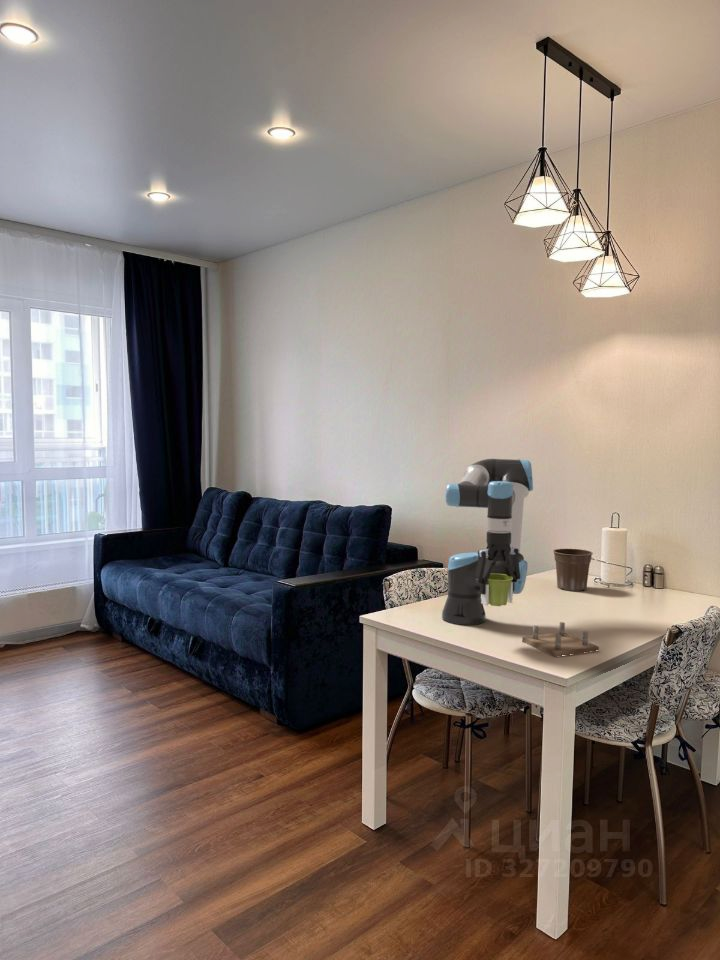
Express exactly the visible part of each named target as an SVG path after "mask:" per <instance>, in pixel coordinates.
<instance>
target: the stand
mask: <svg viewBox="0 0 720 960" xmlns="http://www.w3.org/2000/svg"><path fill="white" fill-rule="evenodd" d="M565 626H566V623H565V622H562V621H560V622H559V628H558V630H559V632H554V633H553V632H550V633H545V634H539V625H537V624H536V625H532V635H529V636H523V637H522V638H521V639H522V642H521V643H524V644H526V643H527V644H526V645H528V644H529V646H530V645H531V646H530V647H533V648H535V649H538V650H539V649H540V650H539V651H541V652H544V651H545V652H544V653H546V652H547V653H546V654H548V653H549V654H548V655H550V654H552V655H551V656H553V655H554V656H553V657H555V656H562V655H569V656H571V655H570V654H576V655H579V654H578V653H583V654H585V653H584V652H590V651H596V650H599V647H600V646H599V645H597V644H593V643H591V642H589V631H587V630H583V631H582V639H581V638H579V637H577V636H574V635H571V634H569V633H567V632H565ZM599 651H600V650H599ZM590 653H591V652H590ZM562 657H563V656H562Z"/></svg>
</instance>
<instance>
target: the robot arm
mask: <svg viewBox="0 0 720 960" xmlns="http://www.w3.org/2000/svg"><path fill="white" fill-rule="evenodd" d="M462 477H463V478H462V479H461V480H460V481H459V482H458V483H457V482H455V483H448V484H447V485H446V489H445V503H446V505H447V506H449V507H456V508H478V509H479V508H480V509H481V508H482V509H487V516H486V530H487V531H486V544H487V545H486V548H485V549H483V550H481V549H478V550H477V552H463V553H457V554H453V555H451V556H450V557H449V559H448V565H447V566H448V567H447V571H448V572H447V597H446V600H445V603H444V605H443V609H442V612H441V619H442V620H443V621H445V622H447V623H451V624H455V625H470V626H471V625H480V624H483V623H485V622H486V619H487V617H486V611H485V608H484V606H487V607H488V606H489V604H488V599H489V585H488V584H487V581H488V579H489V576H490V574H505V575H507V576H511V577H513V580H512V581H511V584H510V588H509V593H508V599H507V603H510V604H512V603H513V595H519V594H521V593H522V592H523V591H524V588H525V585H526V581H527V576H528V567H529V566H528V565H529V564H528V561H527V560H525V558H524V555H523V554H522V553H521V541H522V540H521V539H522V528H523V516H524V502H525V499H526V498H527V497H528V496H529V492H531V491H533V490H534V482H533V469H532V463H531V461H530V460H528V459H520V458H518V459H506V458H504V459H503V458H487V459H481V460H479V461H476V462H474V463H472V464H470V465H469V466H468V467H467V468H466V469H465V470H464V473H463V476H462Z"/></svg>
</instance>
